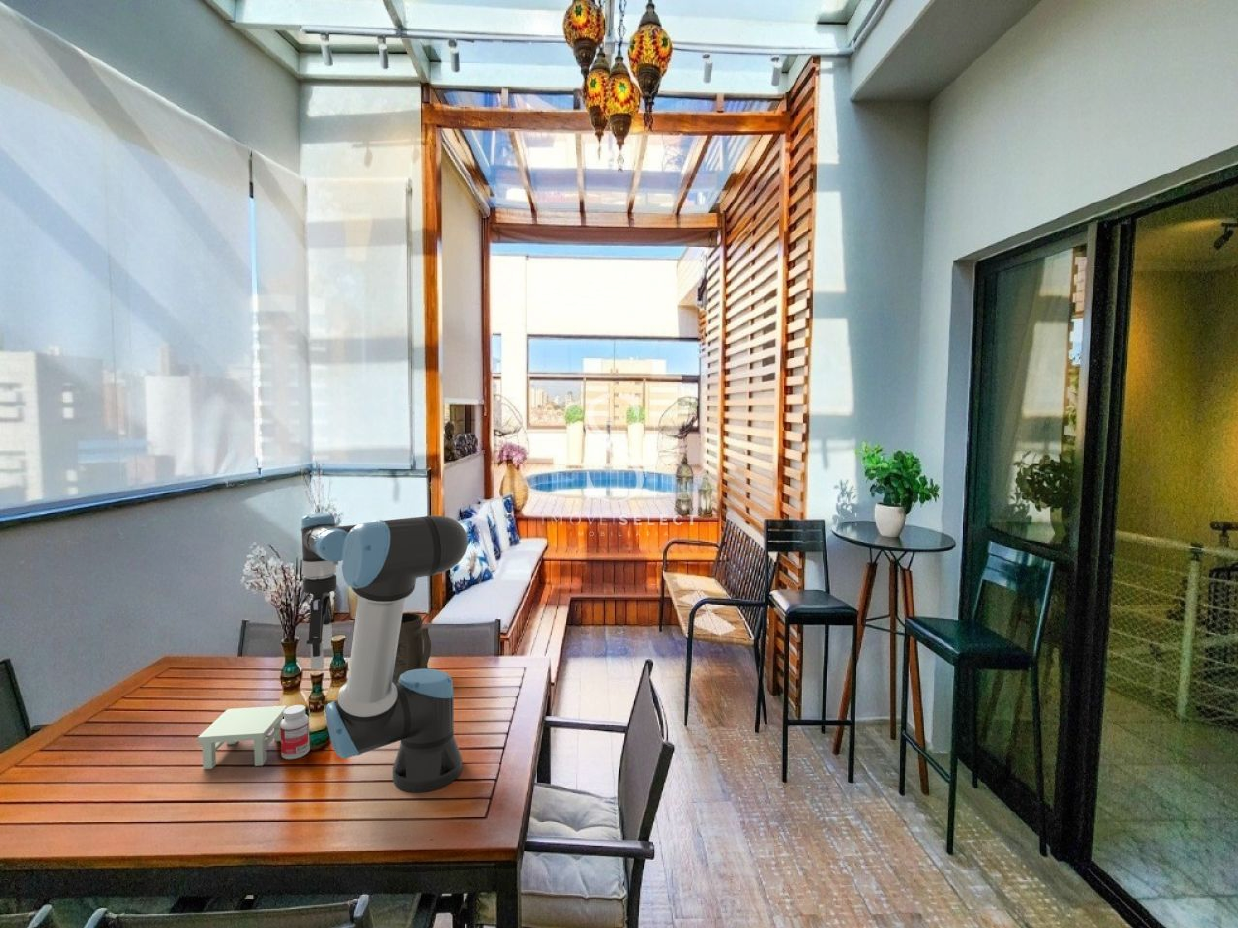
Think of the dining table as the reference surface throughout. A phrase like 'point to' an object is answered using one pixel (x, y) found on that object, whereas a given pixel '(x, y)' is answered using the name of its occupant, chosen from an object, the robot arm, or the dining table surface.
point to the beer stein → (411, 646)
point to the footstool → (242, 731)
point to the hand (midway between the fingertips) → (322, 658)
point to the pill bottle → (295, 732)
